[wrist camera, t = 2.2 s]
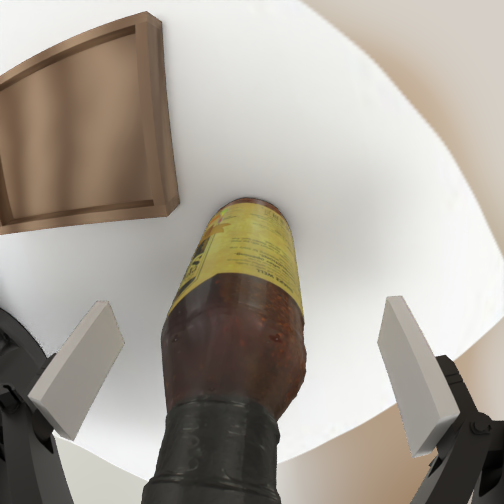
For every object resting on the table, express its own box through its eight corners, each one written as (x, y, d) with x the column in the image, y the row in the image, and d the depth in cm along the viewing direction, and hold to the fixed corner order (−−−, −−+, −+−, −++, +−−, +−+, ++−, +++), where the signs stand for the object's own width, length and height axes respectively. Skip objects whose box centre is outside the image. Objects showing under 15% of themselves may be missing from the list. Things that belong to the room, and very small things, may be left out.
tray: (18, 223, 24) (0, 235, 21) (-3, 89, 18) (-24, 92, 15) (179, 203, 22) (167, 216, 19) (161, 22, 16) (146, 11, 13)
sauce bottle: (206, 194, 22) (39, 464, 4) (293, 195, 21) (355, 513, 4) (211, 274, 25) (132, 532, 7) (289, 276, 24) (305, 551, 6)
